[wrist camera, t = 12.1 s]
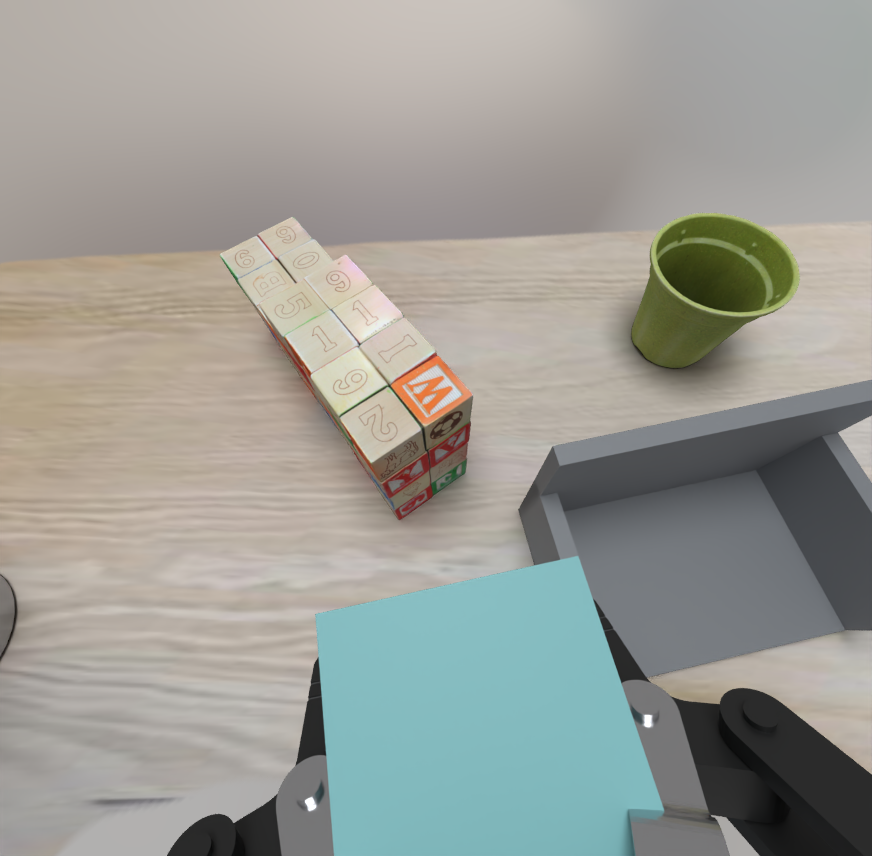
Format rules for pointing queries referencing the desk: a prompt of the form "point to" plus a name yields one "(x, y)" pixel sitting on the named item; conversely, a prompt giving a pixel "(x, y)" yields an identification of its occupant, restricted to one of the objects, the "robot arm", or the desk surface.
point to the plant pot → (709, 285)
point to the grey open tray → (716, 527)
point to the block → (480, 722)
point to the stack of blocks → (360, 362)
